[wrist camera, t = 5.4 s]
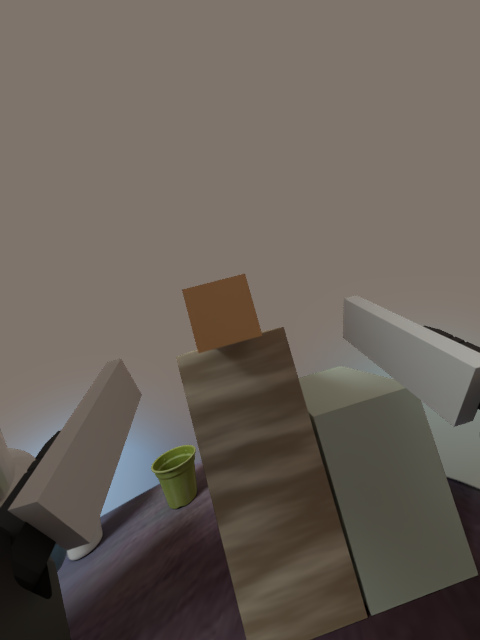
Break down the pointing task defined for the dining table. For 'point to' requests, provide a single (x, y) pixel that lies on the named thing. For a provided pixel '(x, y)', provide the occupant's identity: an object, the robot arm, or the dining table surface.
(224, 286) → the orange bar
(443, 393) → the robot arm
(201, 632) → the dining table surface
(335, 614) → the tall stand
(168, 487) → the plant pot
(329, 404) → the sage green pillar
